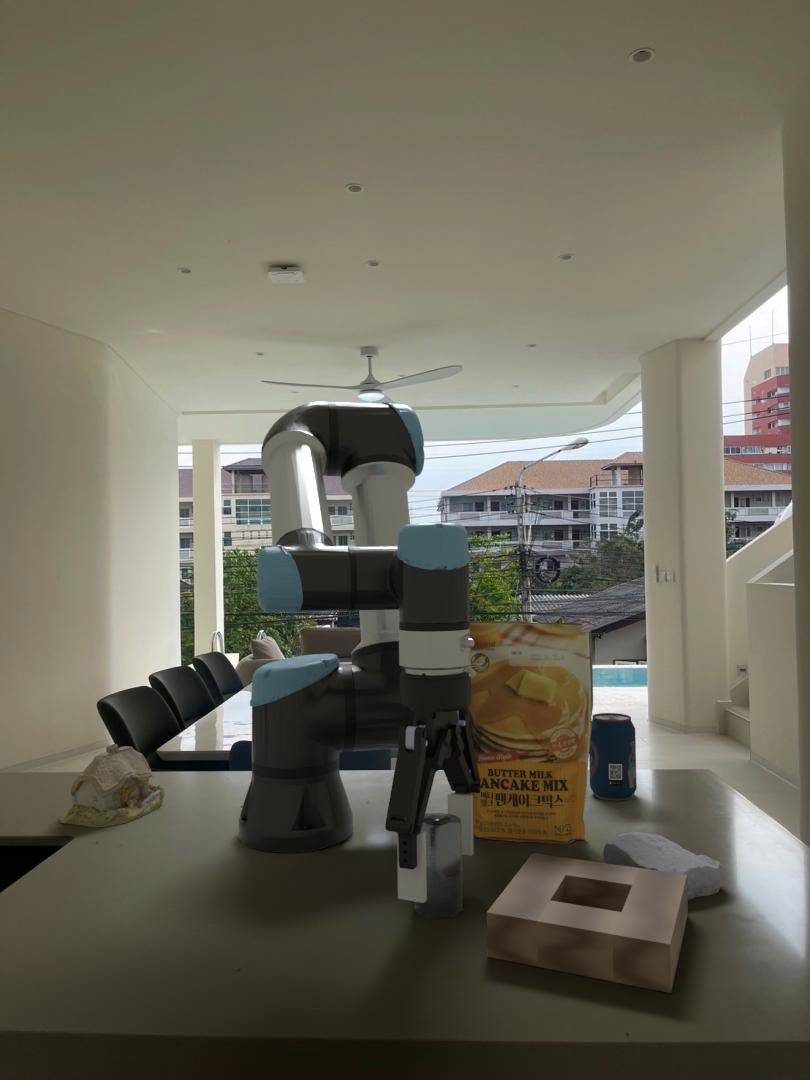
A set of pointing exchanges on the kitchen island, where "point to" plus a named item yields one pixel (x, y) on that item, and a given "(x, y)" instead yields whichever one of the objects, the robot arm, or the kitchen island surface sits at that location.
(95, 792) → the ceramic model
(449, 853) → the cylinder
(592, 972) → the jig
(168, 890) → the kitchen island surface
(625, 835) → the stone block
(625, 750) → the soda can
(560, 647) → the pancake mix bag
